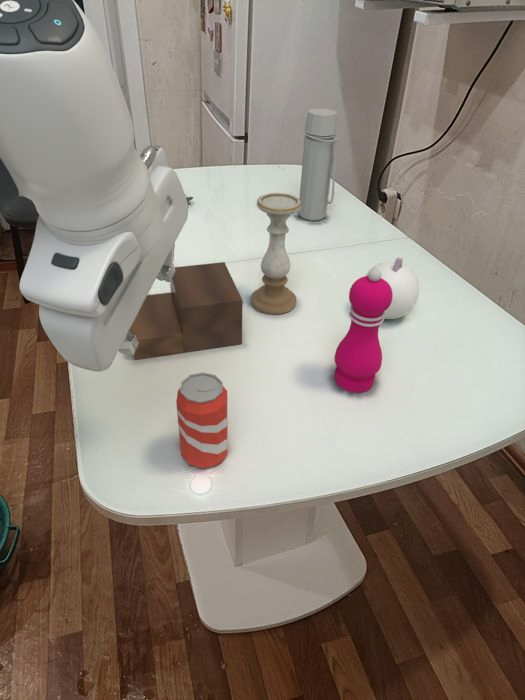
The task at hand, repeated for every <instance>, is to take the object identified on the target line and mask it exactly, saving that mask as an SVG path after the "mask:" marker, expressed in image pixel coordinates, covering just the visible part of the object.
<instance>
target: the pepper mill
mask: <svg viewBox="0 0 525 700" xmlns="http://www.w3.org/2000/svg"><path fill="white" fill-rule="evenodd" d="M369 270H370V269H369ZM369 270H368V271H369ZM367 273H368V272H367ZM392 297H393V294H392V289H391V287H390V285H389V283H388V282H387V281H385V280H384V279H382V278H381V272H380V271H379V270H378V269H372V270H370V271H369V273H368V276H366V275H364V276H361V277H359V278H357V279H356V280H355V281H354V282H353V283H352V284H351V287H350V288H349V293H348V299H349V300H348V301H349V303H350V307H349V313H348V316H349V318H350V325H349V329H348V331H347V333H346V334H345V336H344V337H343V338H342V340H341V341H340V342H339V344H338V345H337V347H336V349H335V352H334V364H335V371H334V381H335V383H336V385H337V386H338V387H340V388H341V389H342V390H344V391H345V392H349V393H355V394H361V393H365V392H367V391H370V390H371V389H372V388H373V386H374V384H375V380H376V374H377V373H379V371H380V369H381V367H382V363H383V351H382V348H381V343H380V340H379V330H380V329H379V328H380V325H381V324H383V323H384V321H385V319H384V316H385V310H387V309H388V308H389V306H390V305H391V302H392Z"/></svg>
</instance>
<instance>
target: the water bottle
mask: <svg viewBox="0 0 525 700" xmlns="http://www.w3.org/2000/svg"><path fill="white" fill-rule="evenodd" d="M337 123H338V112H337V111H336V110H333V109H330V108H323V107H321V108H320V107H315V108H310V109H309V110H307V116H306V122H305V127H304V134H305V135H304V141H303V152H302V164H301V173H300V174H301V176H300V187H299V197H298V198H299V199H300V201H301V203H302V207H301V209H300V211H298V212H297V213H298V215H299V217H300V218H302V219H303V220H305V221H309V222H318V221H321V220H323V219H324V218H325V217H326V216H327V212H328V205H330V204H333V200H334V197H335V180H336V146H337V143H338V140H339V139H340V136H339V134H338V133H337V129H338V128H337V127H338V124H337ZM331 178H332V179H331ZM331 180H332V181H331ZM331 182H332V183H331ZM331 184H332V185H331ZM330 187H331V197H330V201H329V194H330Z"/></svg>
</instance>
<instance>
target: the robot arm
mask: <svg viewBox="0 0 525 700" xmlns="http://www.w3.org/2000/svg"><path fill="white" fill-rule="evenodd" d="M134 129H135V127H134V124H133V120H132V116H131V113H130V109H129V107H128V104H127V101H126V98H125V96H124V92H123V90H122V87H121V84H120V81H119V78H118V77H117V74H116V71H115V69H114V66H113V64H112V61H111V59H110V57H109V54H108V52H107V50H106V48H105V46H104V44H103V41H102V40H101V38H100V36H99V34H98V33H97V31H96V29H95V28H94V25H93V24H92V23H91V21H90V20H89V17H87V15H86V14H85V12H84V11H83V10H82V9H81V7H80V6H79V4H78V3H77V2H76V1H75V0H0V202H9V201H15V200H17V199H18V198H19V197H23V198H27V199H29V200H30V201H31V202H32V203H33V204H34V207H35V210H36V212H37V214H38V217H37V219H36V226H35V232H34V236H33V241H32V245H31V249H30V251H29V254H28V257H27V261H26V262H25V263H26V264H25V266H24V269H23V272H22V274H21V277H20V280H19V291H20V293H21V295H22V296H23V297H24V298H25V300H27V301H29V302H32V303H34V304H37V305H39V306H38V317H39V321H40V324H41V327H42V330H43V331H44V332H45V334H46V335H47V337H48V339H49V341H50V342H51V344H52V345H53V347H54V348H55V350H57V352H58V353H59V355H60V356H61V357H62V358H63V360H65V361H66V362H67V363H68V364H70V365H73V366H75V367H78V368H81V369H84V370H87V371H90V372H91V371H92V372H96V373H97V372H104V371H106V370H108V369H110V368H111V366H112V365H113V363H114V360H115V358H116V356H117V354H118V353H120V354H123V355H126V356H131V357H132V356H134V353H135V351H136V349H137V347H138V344H139V341H137V338H136V336H135V335H131V333H129V332H130V327H131V325H132V324H133V322H134V320H135V318H136V316H137V314H138V312H139V310H140V308H141V306H142V304H143V302H144V301H145V299H146V297H147V295H149V293H150V291H151V289H152V287H153V286H154V283H155V281H156V279H157V280H158V281H161V282H163V281H164V282H166V283H170V281H171V279H172V277H173V275H174V273H175V271H176V270H175V267H176V266H175V265H174V260H175V259H174V258H175V247H176V244H175V243H176V241H177V239H178V238H179V235H180V233H181V231H182V229H183V228H184V226H185V224H186V222H187V221H188V215H189V203H188V202H187V199H186V196H187V195H186V196H185V194H186V193H185V190H184V188H183V186H182V182H181V181H180V177H179V176H178V173H177V172H176V171H175V169H173V168H172V167H169V162H168V159H167V154H166V152H165V149H164V148H163V147H161V146H160V145H158V144H153V145H147V146H146V147H144V149H143V150H142V152H141V153H140V154H139V152H138V151H137V150H136V147H135V130H134Z"/></svg>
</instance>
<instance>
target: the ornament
mask: <svg viewBox="0 0 525 700" xmlns="http://www.w3.org/2000/svg"><path fill="white" fill-rule="evenodd" d="M372 269H378V270H379V271H380V272H381V278H382V279H384V280H385V281H387V282H388V283H389V285H390V287H391V289H392V294H393V297H392V302H391V305H390V306H389V308H388V309H387V310H385V316H384V320H395V319H399V318H403V317H404V316H406V315H407V314H408V313H410V312H411V311H412V309H413V308H414V307H415V305H416V303H417V302H418V298H419V294H420V292H419V291H420V283H419V279H418V277H417V275H416V273H415V272H414V271H413V269H412V268H410V267H409V266H408V265H406V264H404V263H403V258H401V257H396V258H395V261H384V262H380V263H378V264H375V265H373V266H372V267H371V268H369V270H368V271H367V273H366V274H365V276H368V273H369V271H370V270H372Z"/></svg>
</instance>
